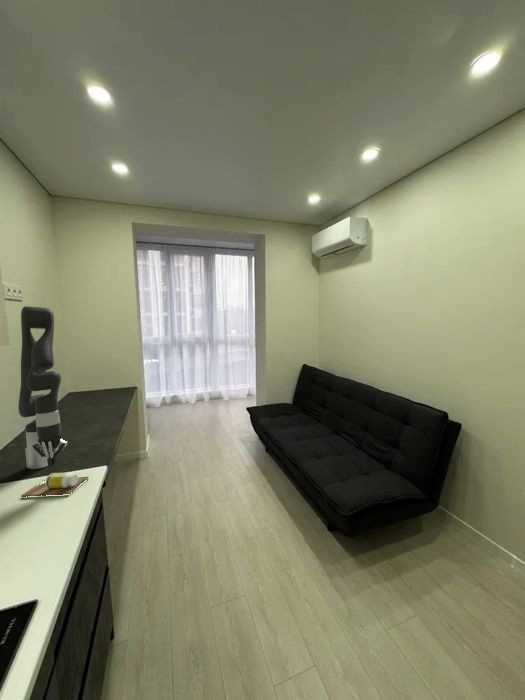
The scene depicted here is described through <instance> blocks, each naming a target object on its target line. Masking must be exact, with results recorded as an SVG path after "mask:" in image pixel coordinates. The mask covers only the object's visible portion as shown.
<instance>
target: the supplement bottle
mask: <svg viewBox="0 0 525 700" xmlns="http://www.w3.org/2000/svg"><path fill="white" fill-rule="evenodd" d="M78 477H79V476H78V474H76V473H74V474H72V473H71V472H51V473H50V474H49V475H47V477H46V478H45V479H46V487H47V488H67V487H69V486H74V485H75V484H76V483H77V481H78Z"/></svg>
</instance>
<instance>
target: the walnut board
mask: <svg viewBox="0 0 525 700" xmlns="http://www.w3.org/2000/svg"><path fill="white" fill-rule="evenodd" d="M78 477H79V478H78V481H77V483H76V484H75V485H74V486H69V487H67V488H47V487H46V483H44V484H41V485H40V484H39V485H38V486H37V484H36V486H35V485H34V486H33V487H31V488H30V489H28V490H26V491H25V492H24V493H23V494H21V495H20V498H21V497H26V496H27V497H28V496H41V495H42V496H46V495H63V494H71V492H73V491H74V490H75V489H76V488H77V487H78V486H79V485H80V484H81V483H83V482H84V481H85V480H86V479H87V478H89V476H78ZM43 480H44V479H43ZM44 481H45V480H44ZM71 495H72V494H71Z"/></svg>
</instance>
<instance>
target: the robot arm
mask: <svg viewBox="0 0 525 700" xmlns="http://www.w3.org/2000/svg"><path fill="white" fill-rule="evenodd" d="M20 323H21V324H20V326H21V328H20V329H21V355H20V389H19V397H18V407H17V408H18V414H19V415H20V417H22V418H29V417H34V416H35V419H34V420H32V421H30V422H29V423H28V424H26V425H25V428H24V429H25V439H26V440H25V441H26V447H25V448H24V451H25V460H26V467H27V469H30V470H38V469H42V468H43V469H44V468H45V467H46V468H47V467H49V468H54V467H56V466H57V465H58V456H59V455H61V454H63V452H64V450H65V449H66V448H67V446H68V445H69V441H68V440H66V441H65V440H63V437H62V425H61V424H62V423H61V415H60V412H59V411H60V410H59V401H58V397H59V395H58V394H59V389H60V387H61V386H60V385H61V381H62V376H61V374H60V373H59V372H57V370H51V369H52V368H53V367H54V365H55V363H54V362H55V361H54V352H53V351H54V350H53V349H54V347H53V344H54V335H55V334H54V332H55V331H54V330H55V315H54V310H53V309H52V308H48V307H43V306H42V307H40V306H27V305H25V306H23V307H22V308H21V313H20ZM31 329H37V330H39V329H40V330H44V332H43V334H42V335H41V336H40V338H39V339H38V340H37V341H36V338H35V337H34V336H33V332H32V331H31ZM49 390H50V391H49ZM40 391H49V393H47V394H45V393H42V394H35V395H32V394H33V392H40Z"/></svg>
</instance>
